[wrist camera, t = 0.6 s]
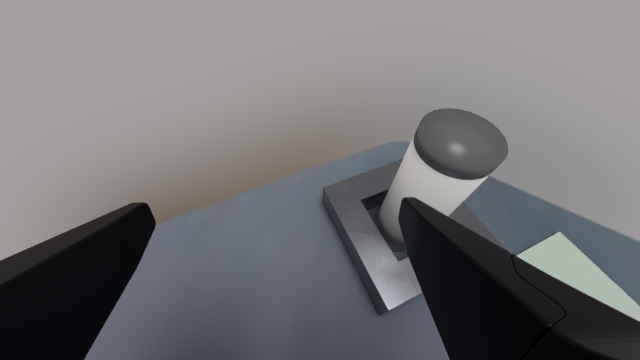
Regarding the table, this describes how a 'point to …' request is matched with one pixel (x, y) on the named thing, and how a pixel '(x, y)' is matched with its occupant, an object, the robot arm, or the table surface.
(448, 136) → the plug
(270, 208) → the table surface
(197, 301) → the table surface
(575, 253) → the mat
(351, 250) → the frame
